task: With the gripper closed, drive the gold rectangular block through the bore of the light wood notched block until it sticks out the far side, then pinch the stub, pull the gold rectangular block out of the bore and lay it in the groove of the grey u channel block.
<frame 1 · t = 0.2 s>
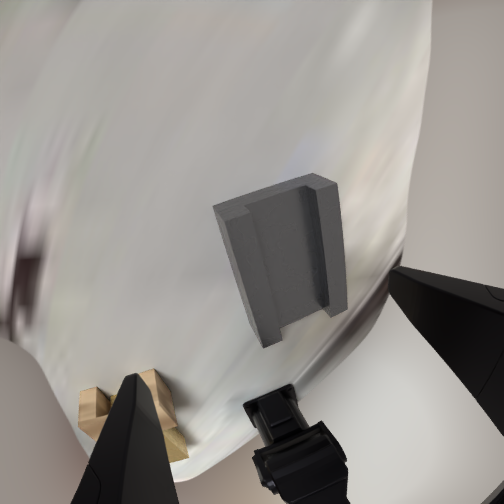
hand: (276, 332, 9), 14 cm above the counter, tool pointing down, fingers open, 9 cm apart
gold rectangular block: (152, 430, 29), point 1 cm above the counter
grey u channel block: (279, 254, 26), on the counter
light wood notched block: (124, 392, 27), on the counter
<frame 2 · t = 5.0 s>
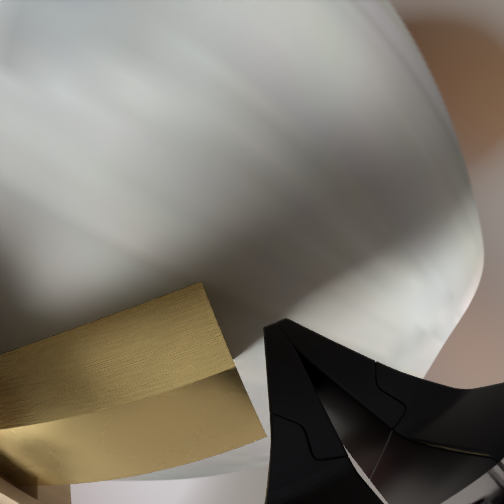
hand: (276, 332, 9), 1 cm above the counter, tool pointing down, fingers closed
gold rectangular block: (61, 413, 7), point 2 cm above the counter
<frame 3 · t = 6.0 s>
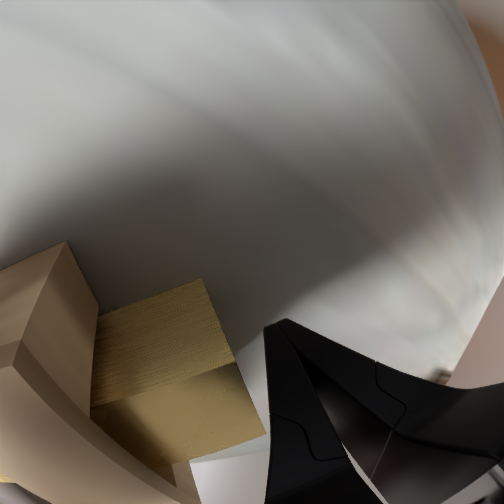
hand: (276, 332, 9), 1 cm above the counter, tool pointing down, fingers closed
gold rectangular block: (60, 409, 7), point 2 cm above the counter, touching gripper
light wood notched block: (83, 372, 9), on the counter
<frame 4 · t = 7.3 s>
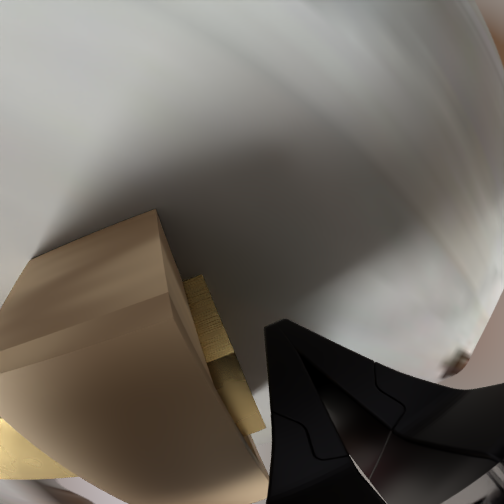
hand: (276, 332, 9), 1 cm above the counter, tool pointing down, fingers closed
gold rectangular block: (59, 405, 7), point 1 cm above the counter
light wood notched block: (149, 354, 9), on the counter
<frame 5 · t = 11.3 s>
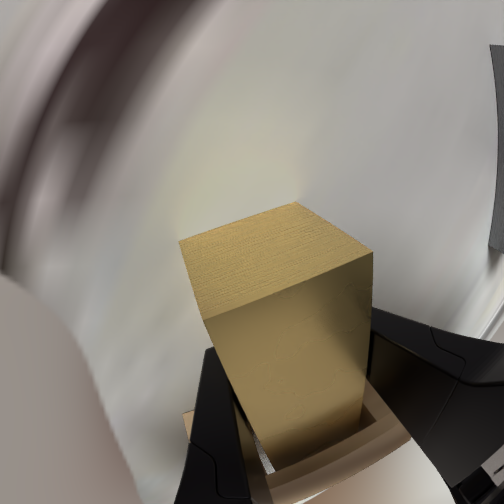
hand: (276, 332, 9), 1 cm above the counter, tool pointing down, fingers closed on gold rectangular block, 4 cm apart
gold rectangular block: (293, 390, 10), point 2 cm above the counter, touching gripper
light wood notched block: (286, 400, 13), on the counter
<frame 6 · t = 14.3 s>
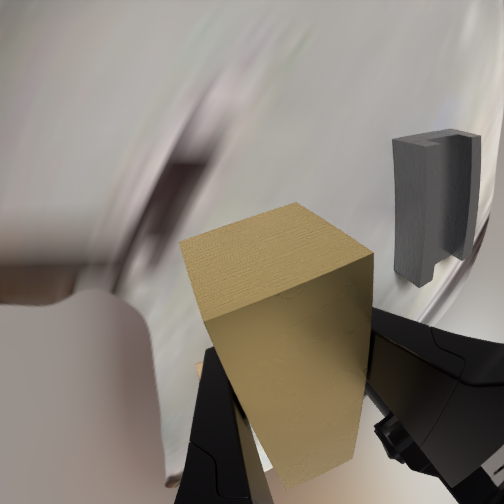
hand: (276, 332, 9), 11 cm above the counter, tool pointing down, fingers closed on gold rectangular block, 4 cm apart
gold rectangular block: (293, 390, 10), point 11 cm above the counter, touching gripper
grey u channel block: (426, 198, 24), on the counter
when the fingers open (4 cm above the counter, at t = 17.3 s): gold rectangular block drops 1 cm, resting on grey u channel block.
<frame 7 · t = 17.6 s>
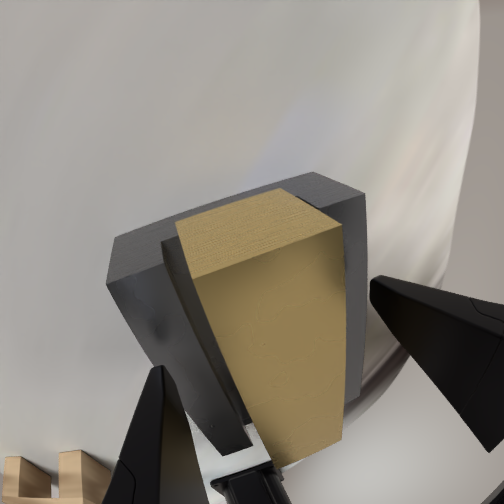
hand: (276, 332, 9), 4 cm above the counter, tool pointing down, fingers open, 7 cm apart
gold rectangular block: (280, 365, 11), point 4 cm above the counter, touching grey u channel block
grey u channel block: (250, 317, 14), on the counter
light wood notched block: (54, 466, 15), on the counter
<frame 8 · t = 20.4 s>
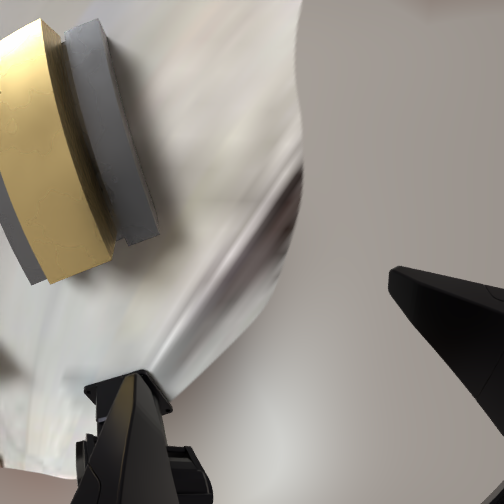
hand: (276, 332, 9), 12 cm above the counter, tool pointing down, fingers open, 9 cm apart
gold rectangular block: (43, 149, 11), point 4 cm above the counter, touching grey u channel block
grey u channel block: (64, 150, 15), on the counter
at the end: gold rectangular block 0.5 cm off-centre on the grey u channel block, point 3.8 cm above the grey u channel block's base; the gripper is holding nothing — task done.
